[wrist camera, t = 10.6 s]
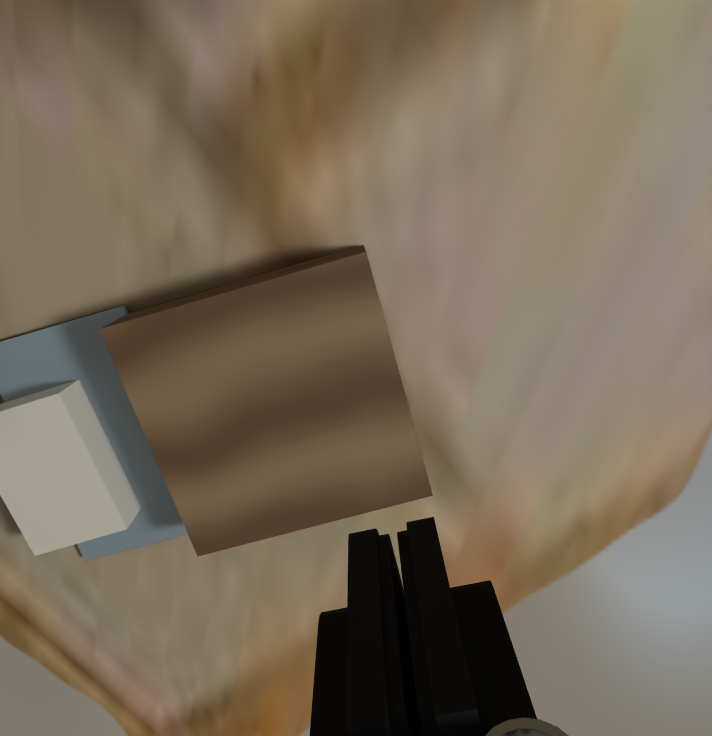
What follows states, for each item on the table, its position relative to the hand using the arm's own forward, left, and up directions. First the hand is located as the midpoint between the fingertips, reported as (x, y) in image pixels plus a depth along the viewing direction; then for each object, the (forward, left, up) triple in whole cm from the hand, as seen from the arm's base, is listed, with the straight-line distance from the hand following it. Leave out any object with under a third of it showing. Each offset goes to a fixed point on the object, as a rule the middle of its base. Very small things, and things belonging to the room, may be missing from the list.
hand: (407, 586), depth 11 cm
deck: (+3, -6, -23) cm, 23 cm away
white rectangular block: (+3, -20, -20) cm, 28 cm away
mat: (+3, -17, -23) cm, 29 cm away
